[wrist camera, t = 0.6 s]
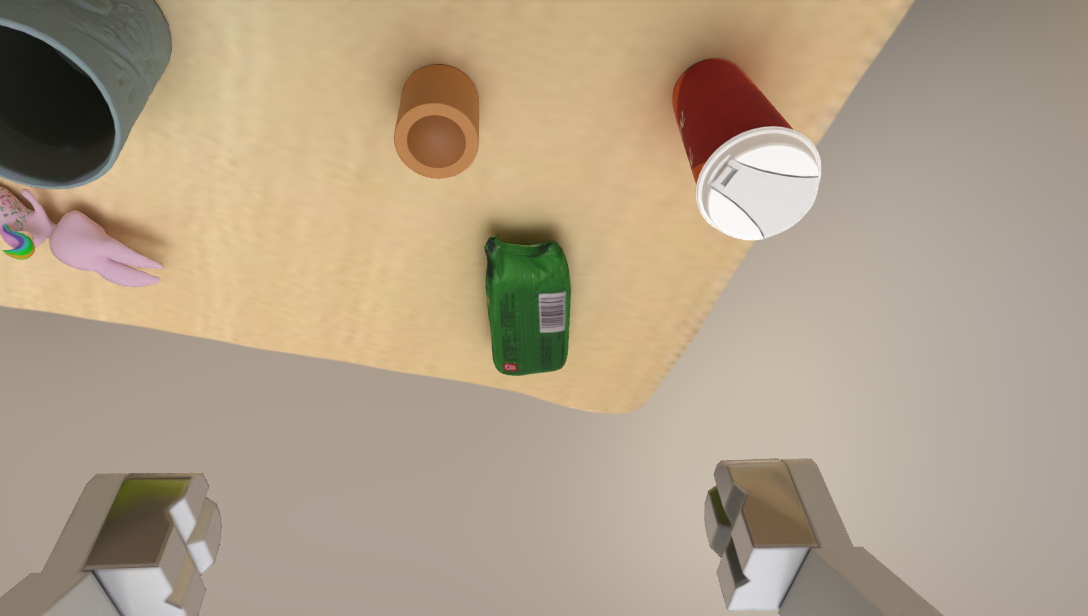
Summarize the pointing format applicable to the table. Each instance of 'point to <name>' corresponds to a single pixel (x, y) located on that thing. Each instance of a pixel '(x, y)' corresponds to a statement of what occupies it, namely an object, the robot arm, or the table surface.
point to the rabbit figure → (71, 242)
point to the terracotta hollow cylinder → (438, 122)
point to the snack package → (528, 306)
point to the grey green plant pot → (74, 85)
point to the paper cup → (743, 153)
